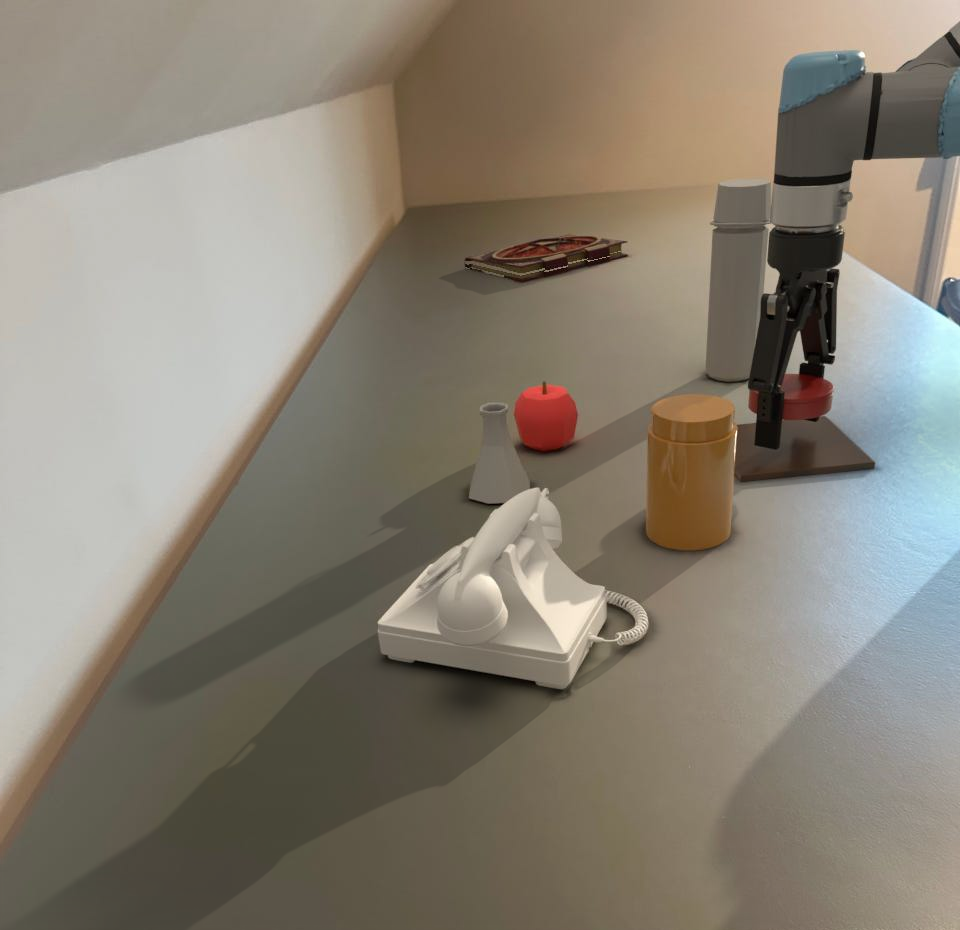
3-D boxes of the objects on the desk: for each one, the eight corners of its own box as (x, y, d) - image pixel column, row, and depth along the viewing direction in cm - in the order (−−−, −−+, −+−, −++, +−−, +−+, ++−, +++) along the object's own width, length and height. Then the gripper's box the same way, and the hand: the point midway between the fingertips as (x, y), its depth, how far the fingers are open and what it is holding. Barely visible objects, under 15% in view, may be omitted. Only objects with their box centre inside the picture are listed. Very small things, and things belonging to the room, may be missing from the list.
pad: (824, 421, 120) (825, 415, 120) (874, 468, 108) (875, 462, 107) (705, 433, 120) (705, 427, 120) (740, 482, 107) (741, 475, 107)
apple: (538, 462, 116) (535, 397, 112) (502, 443, 122) (498, 381, 118) (591, 445, 120) (591, 381, 115) (554, 427, 125) (551, 366, 121)
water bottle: (756, 384, 133) (773, 186, 120) (698, 382, 136) (708, 188, 122) (763, 364, 141) (778, 174, 127) (707, 362, 143) (717, 176, 130)
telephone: (473, 548, 99) (463, 431, 92) (676, 574, 91) (681, 448, 84) (355, 686, 80) (330, 552, 73) (599, 733, 72) (597, 588, 65)
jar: (717, 509, 102) (725, 389, 95) (740, 546, 95) (750, 418, 88) (638, 517, 102) (639, 397, 95) (655, 554, 95) (658, 427, 88)
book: (567, 249, 222) (566, 225, 219) (630, 258, 207) (630, 233, 204) (465, 273, 209) (463, 248, 207) (524, 284, 194) (522, 258, 191)
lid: (733, 411, 111) (734, 390, 110) (770, 389, 116) (772, 369, 115) (809, 425, 105) (811, 404, 104) (844, 401, 111) (847, 380, 110)
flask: (520, 508, 106) (514, 420, 100) (458, 503, 108) (450, 417, 103) (539, 481, 112) (535, 397, 106) (481, 477, 114) (474, 394, 108)
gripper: (792, 250, 92) (772, 471, 104) (886, 208, 105) (858, 409, 117) (721, 244, 96) (710, 457, 108) (819, 205, 109) (799, 398, 121)
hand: (787, 432), depth 113 cm, fingers open, 9 cm apart
